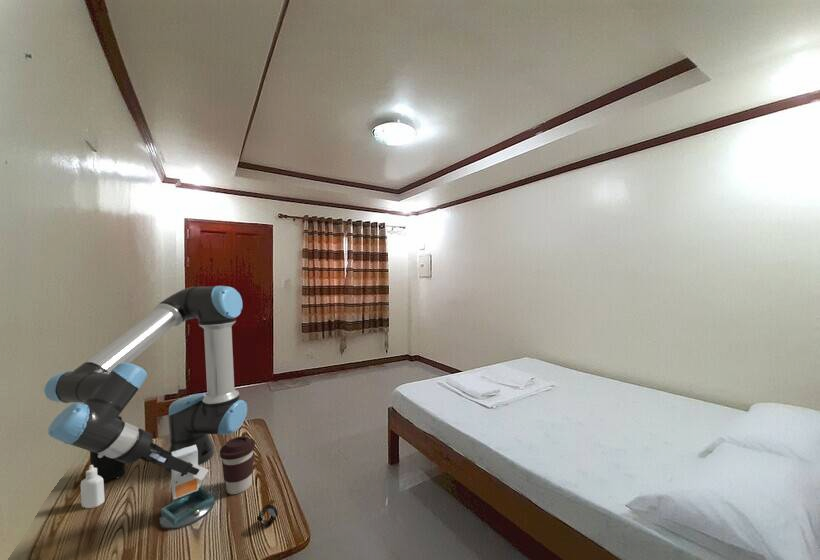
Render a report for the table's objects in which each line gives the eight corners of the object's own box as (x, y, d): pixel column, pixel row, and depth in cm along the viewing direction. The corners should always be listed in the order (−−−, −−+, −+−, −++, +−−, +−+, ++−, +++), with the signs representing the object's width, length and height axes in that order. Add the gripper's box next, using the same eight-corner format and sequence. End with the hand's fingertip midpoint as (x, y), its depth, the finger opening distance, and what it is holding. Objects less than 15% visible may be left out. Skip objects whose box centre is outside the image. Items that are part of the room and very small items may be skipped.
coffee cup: (241, 500, 95) (239, 451, 94) (213, 496, 97) (211, 448, 96) (263, 478, 104) (261, 434, 104) (237, 475, 106) (235, 432, 106)
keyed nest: (151, 518, 88) (150, 509, 88) (201, 490, 100) (200, 482, 100) (172, 537, 82) (172, 527, 82) (223, 504, 93) (223, 496, 93)
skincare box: (173, 500, 86) (171, 458, 86) (171, 493, 90) (170, 451, 89) (199, 490, 90) (198, 449, 90) (197, 483, 94) (195, 443, 94)
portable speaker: (123, 466, 114) (121, 412, 113) (128, 476, 108) (125, 420, 107) (89, 478, 107) (87, 421, 107) (93, 489, 101) (90, 430, 101)
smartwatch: (279, 524, 85) (278, 506, 85) (258, 534, 82) (258, 515, 82) (274, 515, 88) (274, 497, 88) (255, 524, 85) (254, 506, 85)
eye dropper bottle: (100, 496, 98) (98, 458, 98) (105, 503, 95) (103, 464, 95) (80, 505, 94) (78, 466, 94) (85, 512, 91) (83, 472, 91)
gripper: (99, 449, 81) (174, 475, 96) (127, 470, 72) (206, 496, 86) (125, 420, 86) (193, 450, 100) (154, 436, 76) (225, 467, 91)
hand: (199, 471), depth 93 cm, fingers closed on skincare box, 6 cm apart
